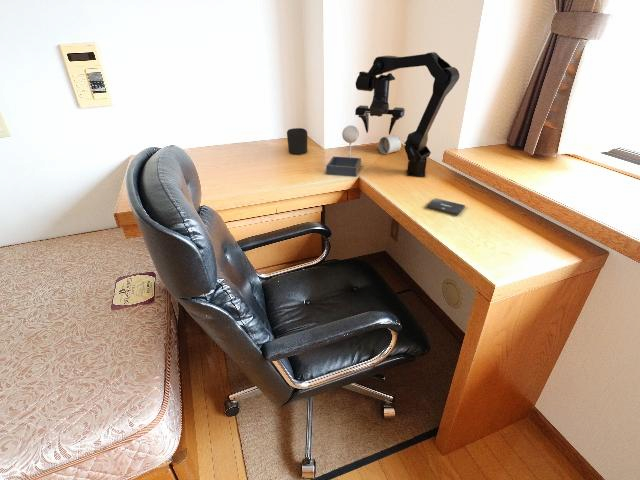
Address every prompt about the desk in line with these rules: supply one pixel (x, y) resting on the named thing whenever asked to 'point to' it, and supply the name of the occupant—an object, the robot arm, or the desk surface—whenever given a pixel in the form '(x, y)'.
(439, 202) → the solid state drive
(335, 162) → the caddy
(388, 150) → the ceramic mug
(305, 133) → the pen holder
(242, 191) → the desk surface
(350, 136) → the lollipop
